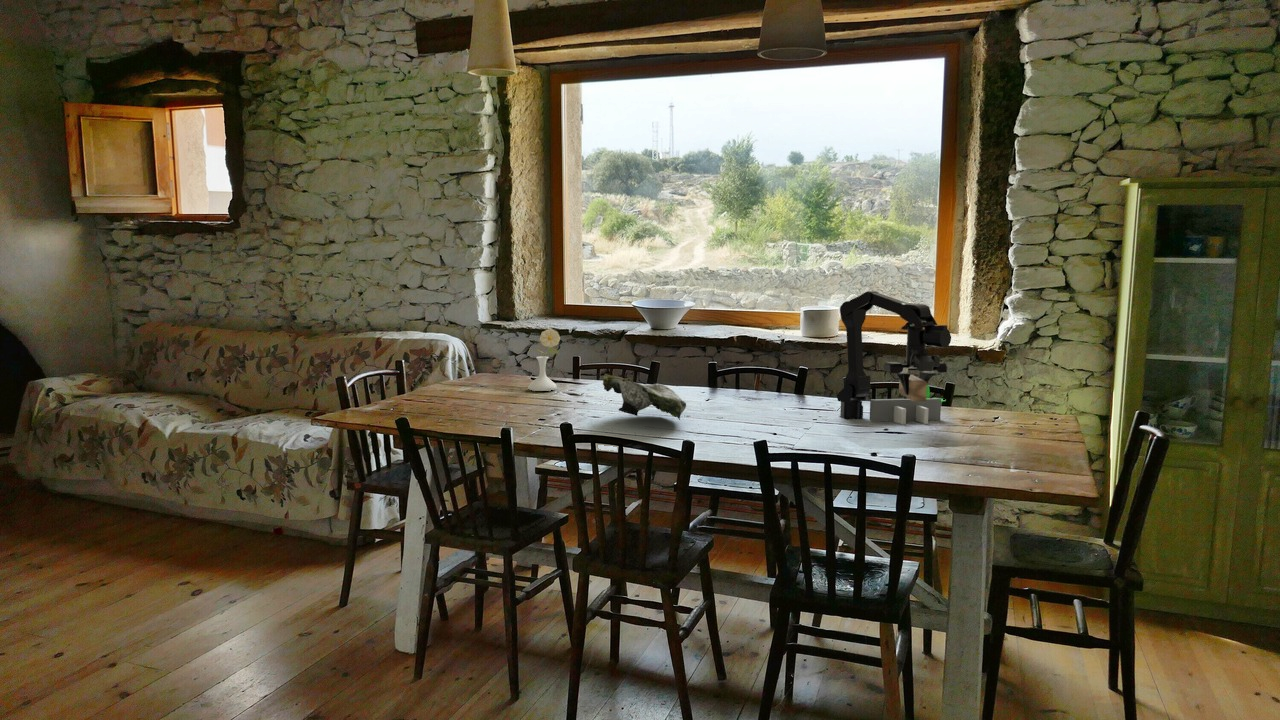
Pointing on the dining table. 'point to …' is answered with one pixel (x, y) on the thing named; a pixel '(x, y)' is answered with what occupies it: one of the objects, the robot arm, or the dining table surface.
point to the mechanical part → (929, 394)
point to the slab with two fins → (905, 410)
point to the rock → (644, 396)
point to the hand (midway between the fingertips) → (914, 394)
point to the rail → (915, 389)
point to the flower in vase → (542, 381)
